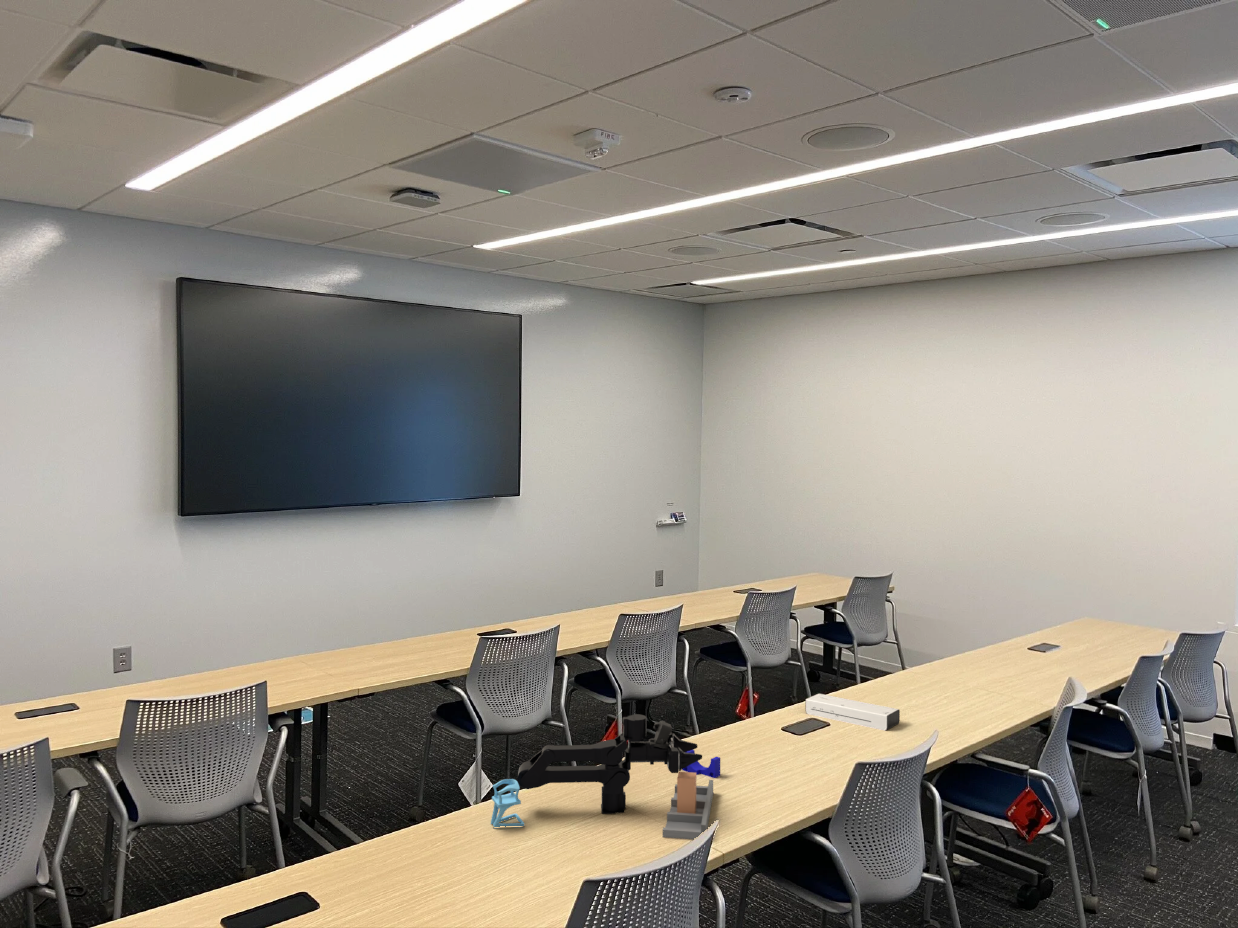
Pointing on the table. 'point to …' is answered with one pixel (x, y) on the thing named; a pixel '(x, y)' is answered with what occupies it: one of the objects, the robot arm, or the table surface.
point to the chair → (505, 803)
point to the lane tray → (690, 815)
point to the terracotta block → (686, 792)
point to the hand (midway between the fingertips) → (699, 751)
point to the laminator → (852, 711)
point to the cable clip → (699, 769)
